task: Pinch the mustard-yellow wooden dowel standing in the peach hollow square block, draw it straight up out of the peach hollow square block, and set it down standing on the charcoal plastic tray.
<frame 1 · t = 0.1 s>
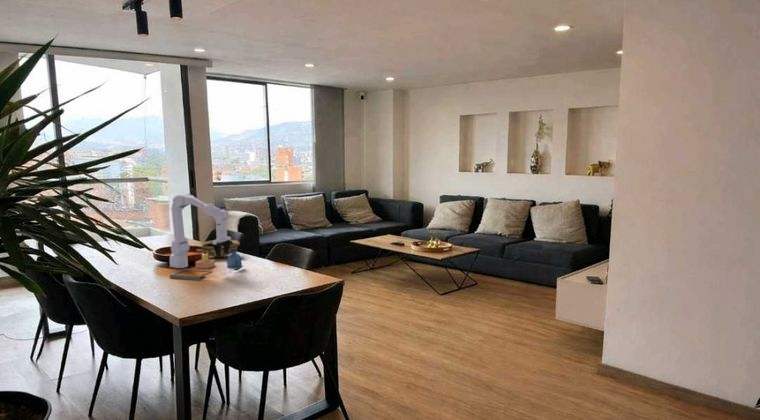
hand: (222, 254, 283), 10 cm above the table, tool pointing down, fingers open, 7 cm apart
peach hollow square block: (205, 269, 290), on the table
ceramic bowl: (219, 258, 320), on the table
dowel: (205, 266, 290), point 1 cm above the table, touching peach hollow square block
perfume bottle: (234, 269, 291), on the table
tray: (191, 276, 274), on the table
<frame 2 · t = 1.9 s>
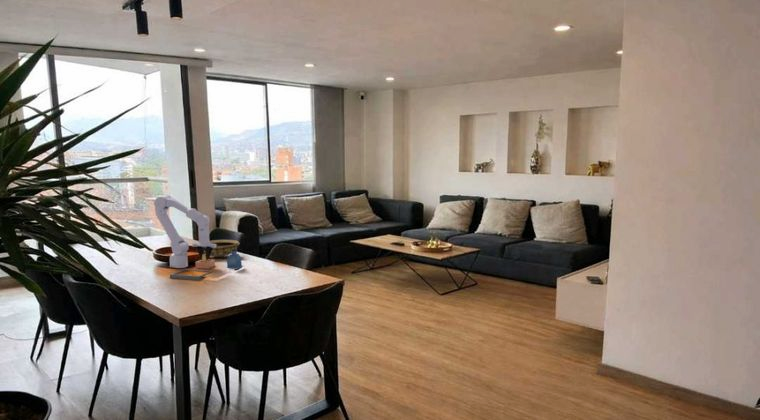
hand: (205, 259, 289), 6 cm above the table, tool pointing down, fingers closed on dowel, 3 cm apart
dowel: (205, 266, 290), point 1 cm above the table, touching peach hollow square block, gripper
everything else where it was.
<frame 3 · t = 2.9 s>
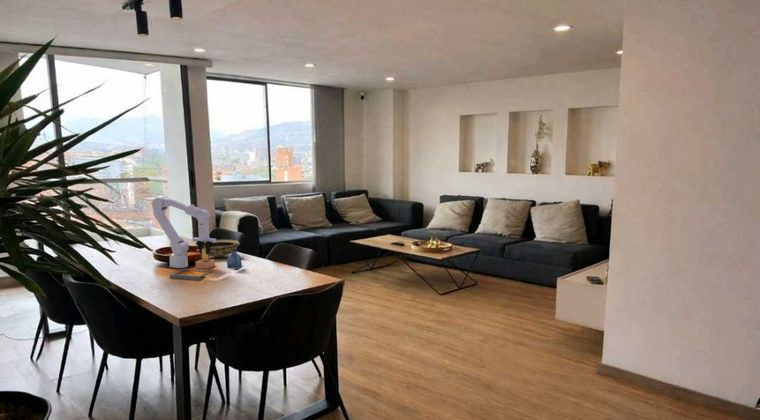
hand: (204, 253, 289), 9 cm above the table, tool pointing down, fingers closed on dowel, 3 cm apart
dowel: (205, 261, 289), point 5 cm above the table, touching gripper
everything else where it was.
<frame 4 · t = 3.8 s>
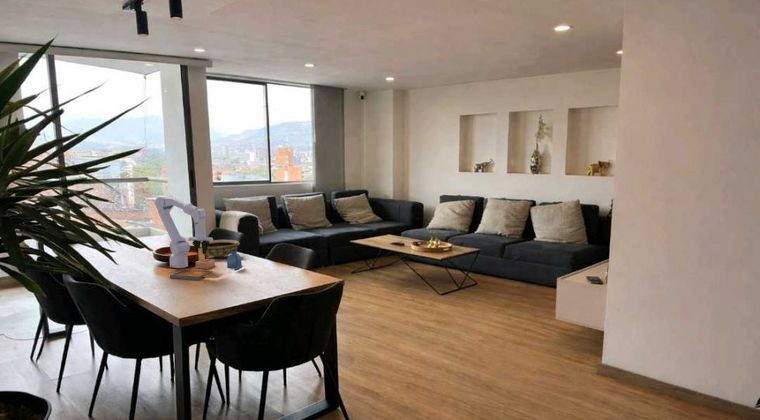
hand: (201, 253, 284), 10 cm above the table, tool pointing down, fingers closed on dowel, 3 cm apart
dowel: (201, 261, 284), point 6 cm above the table, touching gripper
everything else where it was.
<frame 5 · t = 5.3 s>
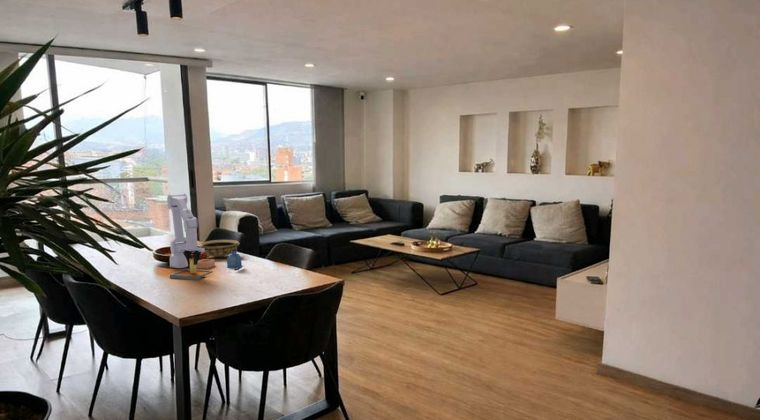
hand: (192, 264, 273), 7 cm above the table, tool pointing down, fingers closed on dowel, 3 cm apart
dowel: (193, 272, 274), point 2 cm above the table, touching gripper
everything else where it was.
when the fingers open (6 cm above the table, at t = 6.1 s): dowel drops 1 cm, resting on tray.
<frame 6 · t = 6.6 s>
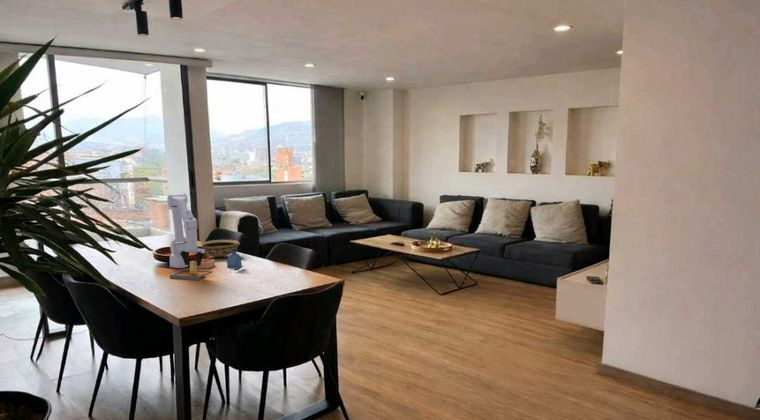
hand: (192, 265, 273), 6 cm above the table, tool pointing down, fingers open, 7 cm apart
dowel: (193, 274, 274), point 1 cm above the table, touching tray
everything else where it was.
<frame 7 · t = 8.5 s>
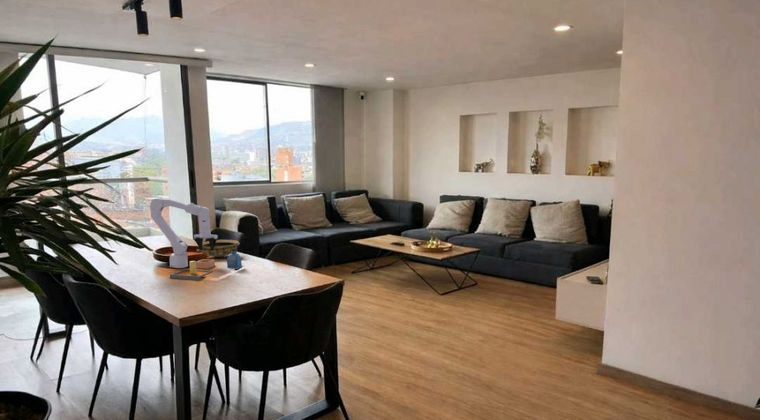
hand: (206, 250, 292), 10 cm above the table, tool pointing down, fingers open, 7 cm apart
nothing on the table moved.
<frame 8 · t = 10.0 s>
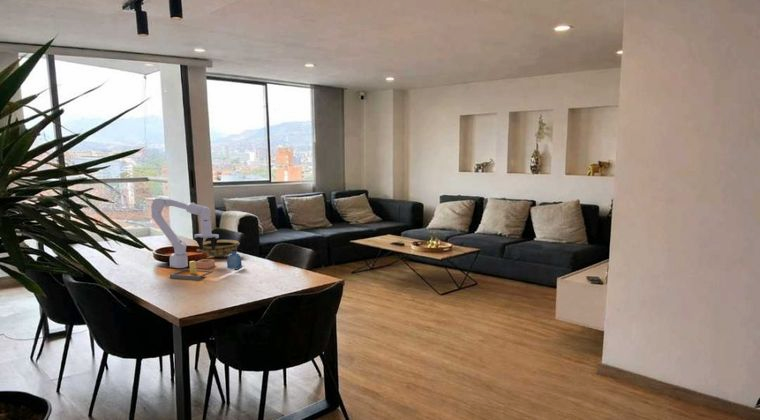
hand: (207, 249, 294), 10 cm above the table, tool pointing down, fingers open, 7 cm apart
nothing on the table moved.
at the end: dowel inside the target area on the tray (1.0 cm from its centre), point 0.8 cm above the tray's base; the gripper is holding nothing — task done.
